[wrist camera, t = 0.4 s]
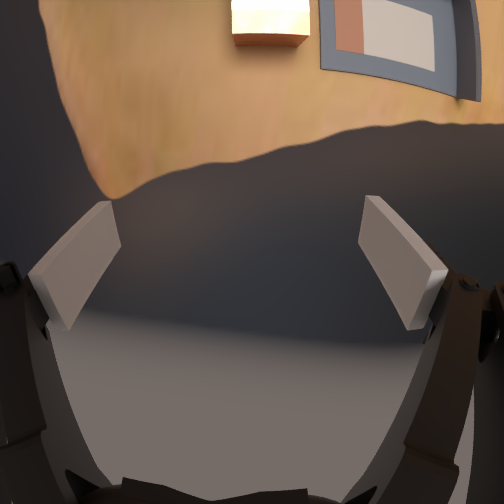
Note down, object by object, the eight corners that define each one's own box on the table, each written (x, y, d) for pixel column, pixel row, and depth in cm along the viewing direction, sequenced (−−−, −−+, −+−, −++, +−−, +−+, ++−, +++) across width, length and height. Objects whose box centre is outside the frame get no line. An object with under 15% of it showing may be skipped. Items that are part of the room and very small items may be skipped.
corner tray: (314, -48, 21) (323, -64, 16) (453, -5, 21) (473, -11, 16) (320, 68, 31) (331, 65, 27) (459, 98, 31) (480, 102, 27)
